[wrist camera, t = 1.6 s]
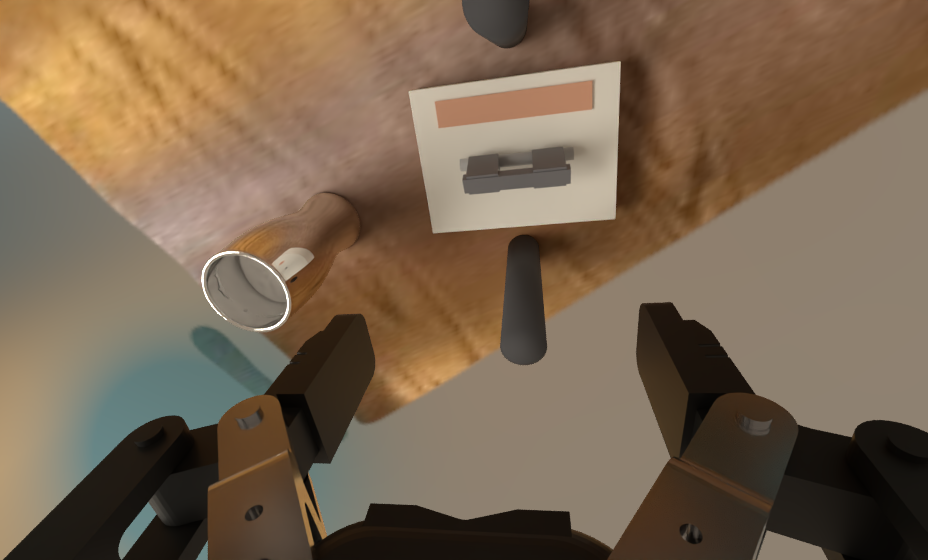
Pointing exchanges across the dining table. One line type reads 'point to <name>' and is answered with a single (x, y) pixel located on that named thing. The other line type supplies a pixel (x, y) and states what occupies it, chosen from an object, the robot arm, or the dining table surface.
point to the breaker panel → (521, 145)
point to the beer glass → (279, 263)
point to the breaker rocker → (517, 170)
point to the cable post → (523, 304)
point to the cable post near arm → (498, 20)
